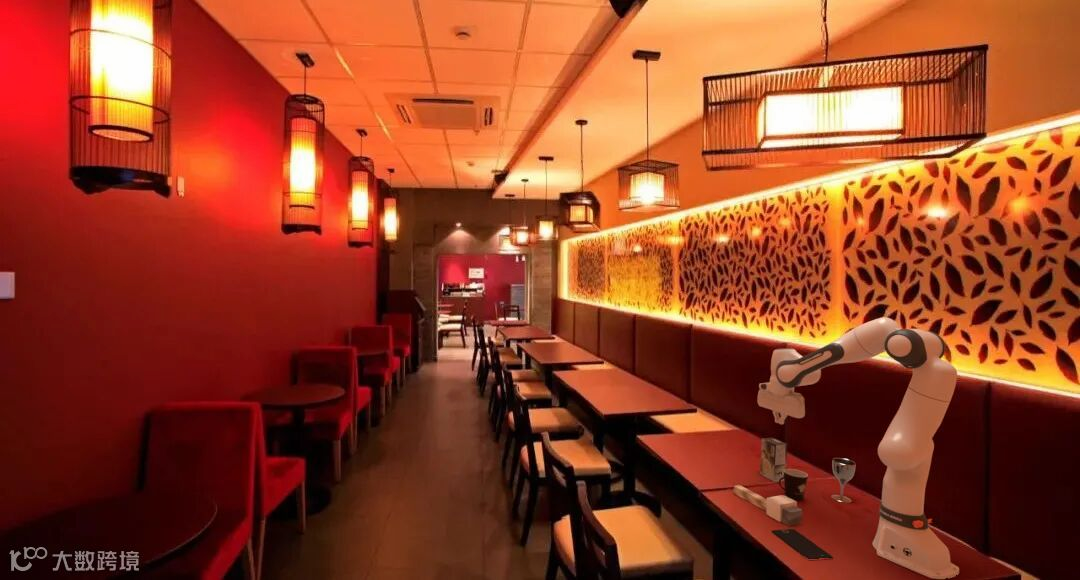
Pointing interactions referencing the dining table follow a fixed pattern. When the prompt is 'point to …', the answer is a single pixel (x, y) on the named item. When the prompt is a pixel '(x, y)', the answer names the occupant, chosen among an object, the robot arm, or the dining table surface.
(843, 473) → the wine glass
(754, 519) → the dining table surface
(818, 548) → the cell phone
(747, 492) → the rail
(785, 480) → the coffee mug
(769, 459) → the coffee box
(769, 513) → the keeper
